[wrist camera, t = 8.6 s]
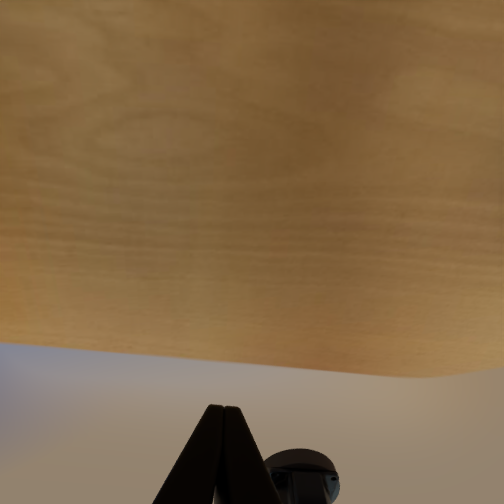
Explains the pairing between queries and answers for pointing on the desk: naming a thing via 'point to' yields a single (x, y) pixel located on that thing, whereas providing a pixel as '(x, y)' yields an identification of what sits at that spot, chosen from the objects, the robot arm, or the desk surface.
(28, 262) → the desk surface
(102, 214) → the desk surface
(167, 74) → the desk surface
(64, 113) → the desk surface
